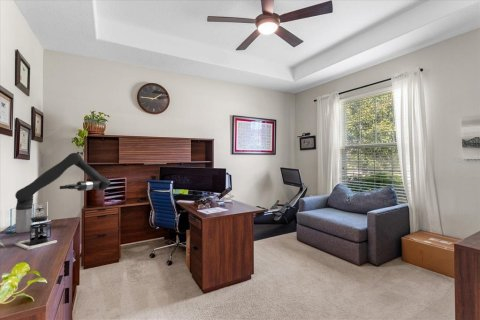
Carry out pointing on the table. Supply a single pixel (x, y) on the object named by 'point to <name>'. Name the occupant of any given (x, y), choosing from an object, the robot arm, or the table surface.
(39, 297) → the table surface
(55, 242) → the bay
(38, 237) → the french press
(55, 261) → the table surface
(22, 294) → the table surface
